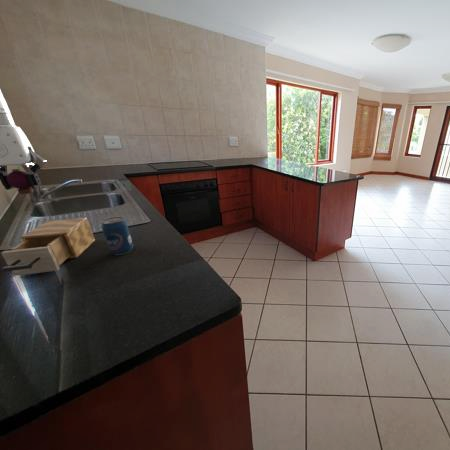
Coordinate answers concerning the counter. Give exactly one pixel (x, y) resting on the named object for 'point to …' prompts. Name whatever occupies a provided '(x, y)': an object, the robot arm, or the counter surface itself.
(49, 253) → the drawer
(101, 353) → the counter surface
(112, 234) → the soda can
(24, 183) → the mangosteen
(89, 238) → the cabinet
